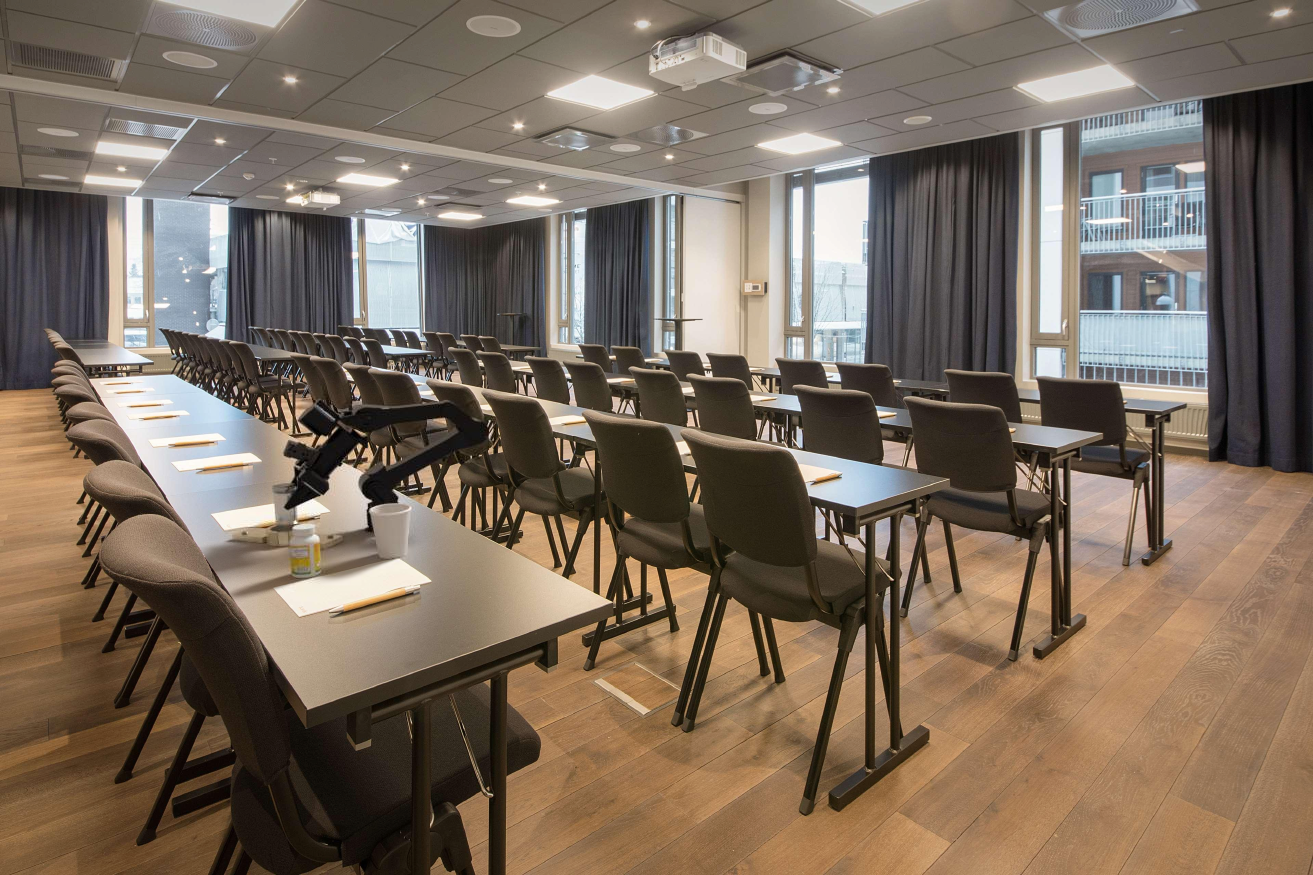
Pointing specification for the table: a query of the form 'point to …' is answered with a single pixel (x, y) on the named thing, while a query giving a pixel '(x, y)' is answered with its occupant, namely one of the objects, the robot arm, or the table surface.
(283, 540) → the hinge
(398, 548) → the dixie cup
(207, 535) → the table surface
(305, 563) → the supplement bottle
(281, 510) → the grey cylinder
